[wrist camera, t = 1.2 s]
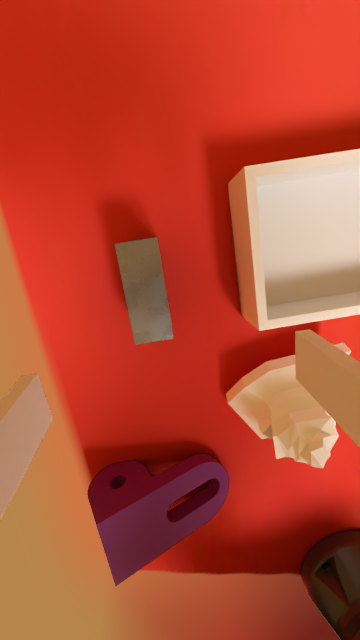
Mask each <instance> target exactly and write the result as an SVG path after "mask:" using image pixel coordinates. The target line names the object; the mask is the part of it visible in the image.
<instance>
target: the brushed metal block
mask: <svg viewBox="0 0 360 640" xmlns="http://www.w3.org/2000/svg"><path fill="white" fill-rule="evenodd" d="M114 245H115V250H116V255H117V260H118V264H119V269H120V274H121V279H122V284H123V289H124V294H125V299H126V304H127V309H128V314H129V318H130V323H131V328H132V333H133V338H134V343H135V345H137V344H143V343H149V342H156V341H162V340H168V339H174V335H173V327H172V319H171V313H170V307H169V301H168V295H167V289H166V283H165V277H164V271H163V265H162V259H161V253H160V247H159V241H158V238H157V237H154V238H148V239H141V240H135V241H129V242H122V243H116V244H114Z"/></svg>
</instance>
